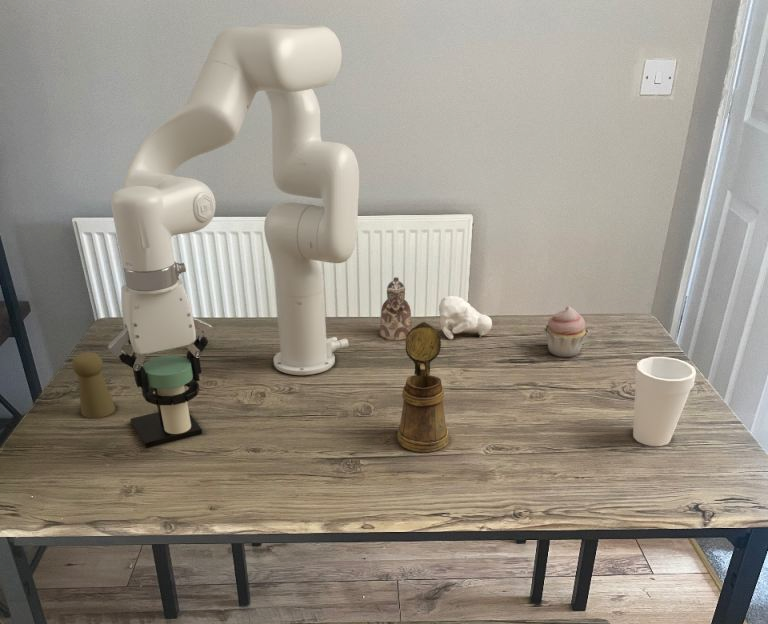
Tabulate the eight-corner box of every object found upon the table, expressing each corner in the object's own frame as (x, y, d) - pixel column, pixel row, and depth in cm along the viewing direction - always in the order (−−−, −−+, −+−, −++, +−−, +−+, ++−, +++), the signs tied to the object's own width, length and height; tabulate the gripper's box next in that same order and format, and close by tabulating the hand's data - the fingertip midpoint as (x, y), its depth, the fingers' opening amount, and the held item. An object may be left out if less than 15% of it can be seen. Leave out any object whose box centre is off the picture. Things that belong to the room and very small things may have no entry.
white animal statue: (440, 290, 175) (495, 296, 175) (435, 327, 180) (488, 333, 180) (440, 301, 170) (496, 307, 170) (435, 338, 175) (490, 344, 175)
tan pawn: (105, 419, 146) (92, 363, 140) (75, 416, 147) (61, 361, 141) (120, 404, 151) (109, 349, 144) (91, 401, 152) (78, 347, 146)
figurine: (377, 339, 176) (376, 285, 169) (382, 326, 181) (382, 274, 174) (409, 341, 175) (410, 287, 168) (413, 328, 180) (414, 275, 173)
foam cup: (649, 455, 135) (664, 385, 127) (612, 431, 141) (625, 363, 134) (691, 442, 138) (708, 373, 131) (653, 419, 145) (667, 352, 138)
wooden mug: (446, 414, 147) (450, 321, 137) (449, 452, 136) (454, 353, 125) (397, 414, 147) (397, 321, 137) (397, 452, 136) (397, 353, 126)
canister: (192, 412, 138) (182, 351, 132) (207, 431, 133) (197, 368, 126) (149, 423, 135) (136, 361, 129) (162, 443, 130) (149, 379, 123)
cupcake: (552, 339, 175) (558, 294, 169) (592, 349, 170) (599, 303, 165) (533, 353, 169) (538, 308, 163) (574, 364, 164) (580, 317, 158)
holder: (184, 410, 149) (174, 350, 142) (218, 455, 136) (209, 391, 129) (131, 423, 145) (118, 362, 138) (160, 470, 132) (147, 405, 125)
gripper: (199, 260, 125) (213, 364, 136) (86, 278, 119) (110, 386, 129) (215, 273, 120) (229, 381, 130) (97, 294, 113) (121, 405, 123)
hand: (169, 383), depth 129 cm, fingers closed on canister, 7 cm apart
